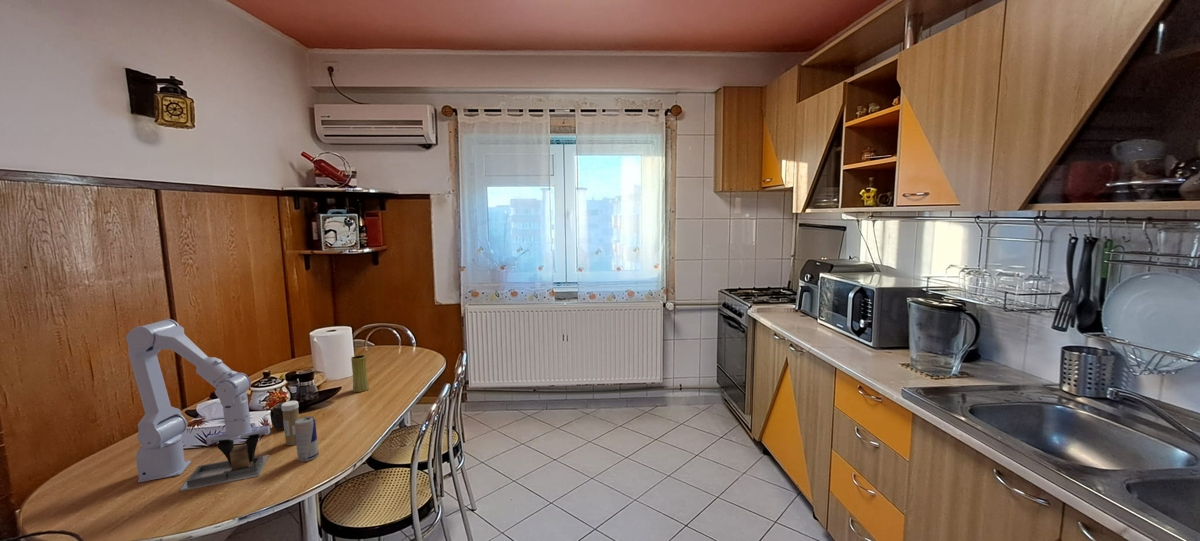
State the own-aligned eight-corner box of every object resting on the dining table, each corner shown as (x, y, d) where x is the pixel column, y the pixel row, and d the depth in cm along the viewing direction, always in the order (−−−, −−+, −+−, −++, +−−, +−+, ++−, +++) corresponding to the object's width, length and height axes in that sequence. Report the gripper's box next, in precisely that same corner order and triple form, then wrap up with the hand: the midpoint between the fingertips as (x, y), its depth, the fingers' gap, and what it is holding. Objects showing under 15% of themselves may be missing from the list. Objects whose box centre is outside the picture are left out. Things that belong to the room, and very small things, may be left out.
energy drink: (322, 452, 146) (318, 415, 144) (312, 461, 140) (308, 423, 139) (304, 453, 146) (300, 416, 144) (294, 462, 140) (290, 424, 139)
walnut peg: (232, 472, 134) (229, 452, 133) (236, 465, 137) (234, 446, 137) (249, 469, 135) (246, 449, 135) (253, 462, 139) (250, 443, 138)
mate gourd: (270, 426, 164) (268, 398, 163) (296, 420, 169) (293, 393, 168) (273, 433, 159) (271, 405, 158) (299, 426, 164) (297, 399, 163)
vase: (354, 388, 199) (351, 355, 198) (370, 386, 201) (367, 353, 199) (351, 393, 194) (348, 359, 192) (367, 391, 196) (365, 358, 194)
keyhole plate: (180, 491, 126) (179, 485, 126) (197, 469, 137) (196, 463, 137) (258, 476, 133) (258, 470, 133) (269, 456, 144) (268, 450, 144)
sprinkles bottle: (302, 443, 152) (298, 403, 150) (285, 447, 149) (281, 406, 148) (301, 437, 156) (297, 398, 154) (285, 441, 153) (281, 402, 152)
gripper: (200, 427, 128) (206, 474, 130) (263, 417, 134) (268, 462, 136) (209, 417, 135) (215, 462, 136) (269, 408, 140) (274, 451, 142)
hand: (242, 461), depth 136 cm, fingers closed on walnut peg, 4 cm apart
